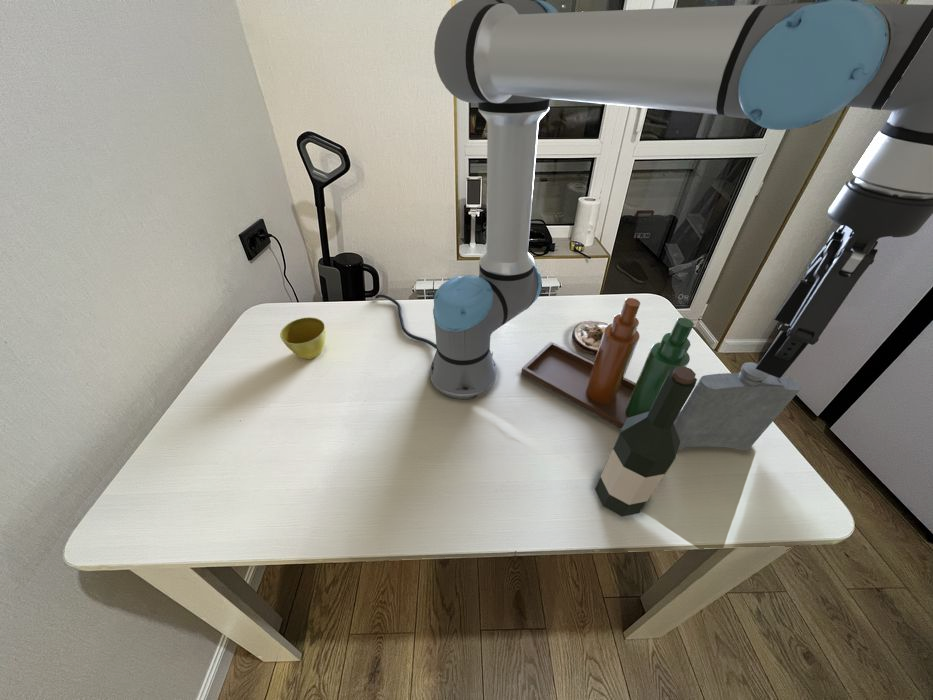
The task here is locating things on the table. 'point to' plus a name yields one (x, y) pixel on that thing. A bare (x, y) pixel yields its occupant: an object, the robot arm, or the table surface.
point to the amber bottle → (614, 354)
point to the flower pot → (304, 337)
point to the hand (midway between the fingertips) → (776, 345)
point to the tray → (576, 381)
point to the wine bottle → (645, 448)
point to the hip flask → (733, 408)
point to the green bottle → (660, 367)
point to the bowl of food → (588, 335)
